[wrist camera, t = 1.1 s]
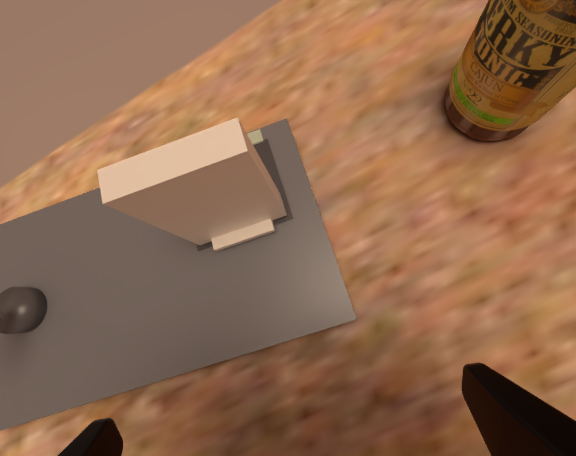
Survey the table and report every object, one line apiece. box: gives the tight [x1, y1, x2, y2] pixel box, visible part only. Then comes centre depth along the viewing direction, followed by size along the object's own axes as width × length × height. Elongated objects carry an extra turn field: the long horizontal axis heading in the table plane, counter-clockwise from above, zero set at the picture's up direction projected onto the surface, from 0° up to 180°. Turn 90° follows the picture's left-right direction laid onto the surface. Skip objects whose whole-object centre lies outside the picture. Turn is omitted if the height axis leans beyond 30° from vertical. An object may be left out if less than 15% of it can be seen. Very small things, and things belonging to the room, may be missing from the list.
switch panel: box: [0, 119, 357, 431], centre depth 23 cm, size 14×26×4 cm, turn 107°
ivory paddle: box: [97, 117, 287, 251], centre depth 17 cm, size 3×6×9 cm, turn 107°
